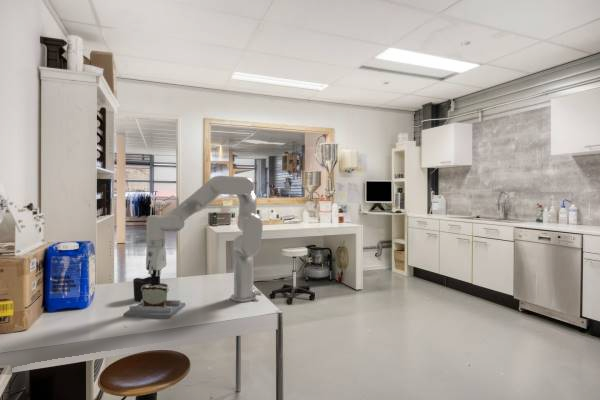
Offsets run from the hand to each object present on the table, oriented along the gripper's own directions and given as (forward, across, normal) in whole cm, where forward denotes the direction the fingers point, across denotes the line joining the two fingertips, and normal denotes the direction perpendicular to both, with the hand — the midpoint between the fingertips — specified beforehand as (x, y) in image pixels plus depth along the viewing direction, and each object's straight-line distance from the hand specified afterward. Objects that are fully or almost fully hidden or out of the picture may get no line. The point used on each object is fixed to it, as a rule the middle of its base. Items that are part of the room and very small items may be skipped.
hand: (155, 284), depth 151 cm
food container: (+10, +1, 0) cm, 10 cm away
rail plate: (+12, 0, 0) cm, 12 cm away
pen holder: (+12, +16, +14) cm, 24 cm away
